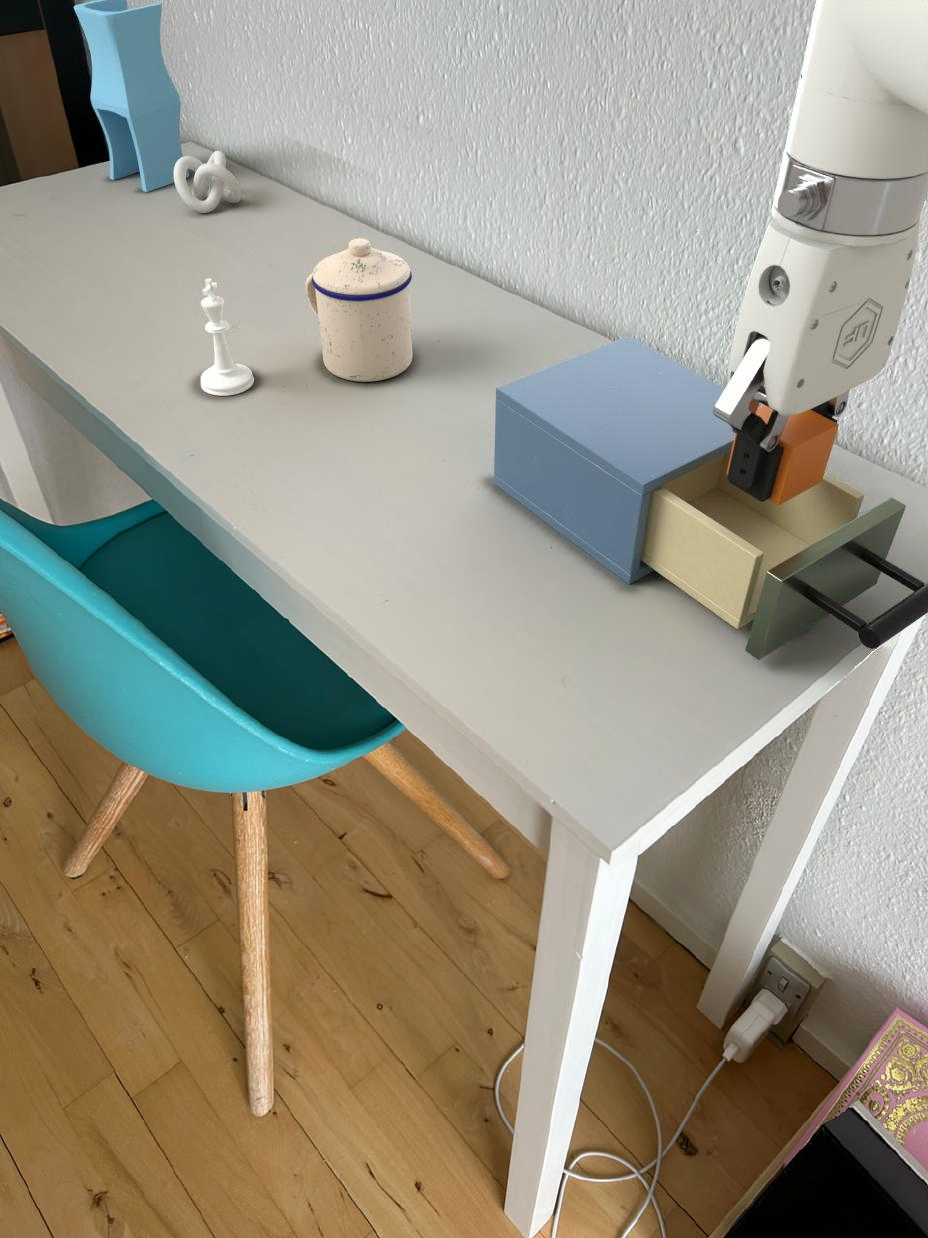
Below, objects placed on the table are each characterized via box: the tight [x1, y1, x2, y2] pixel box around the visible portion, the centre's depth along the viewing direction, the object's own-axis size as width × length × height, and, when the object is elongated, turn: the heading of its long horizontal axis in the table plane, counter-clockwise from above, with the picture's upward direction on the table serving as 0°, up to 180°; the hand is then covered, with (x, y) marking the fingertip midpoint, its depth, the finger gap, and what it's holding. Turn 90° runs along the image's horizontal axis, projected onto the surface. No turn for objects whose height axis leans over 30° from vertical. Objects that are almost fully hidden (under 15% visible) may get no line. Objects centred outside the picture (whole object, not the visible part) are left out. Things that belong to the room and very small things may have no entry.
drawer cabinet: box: [493, 335, 761, 585], centre depth 75 cm, size 16×14×9 cm
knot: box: [174, 150, 243, 214], centre depth 122 cm, size 8×8×6 cm
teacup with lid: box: [304, 237, 414, 383], centre depth 91 cm, size 12×9×12 cm
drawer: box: [641, 451, 928, 661], centre depth 67 cm, size 20×13×7 cm, turn 37°
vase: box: [73, 0, 190, 193], centre depth 125 cm, size 8×8×20 cm
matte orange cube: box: [727, 404, 840, 506], centre depth 63 cm, size 4×4×4 cm
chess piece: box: [200, 278, 255, 397], centre depth 88 cm, size 5×5×10 cm
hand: (774, 474), depth 64 cm, fingers closed on matte orange cube, 4 cm apart
